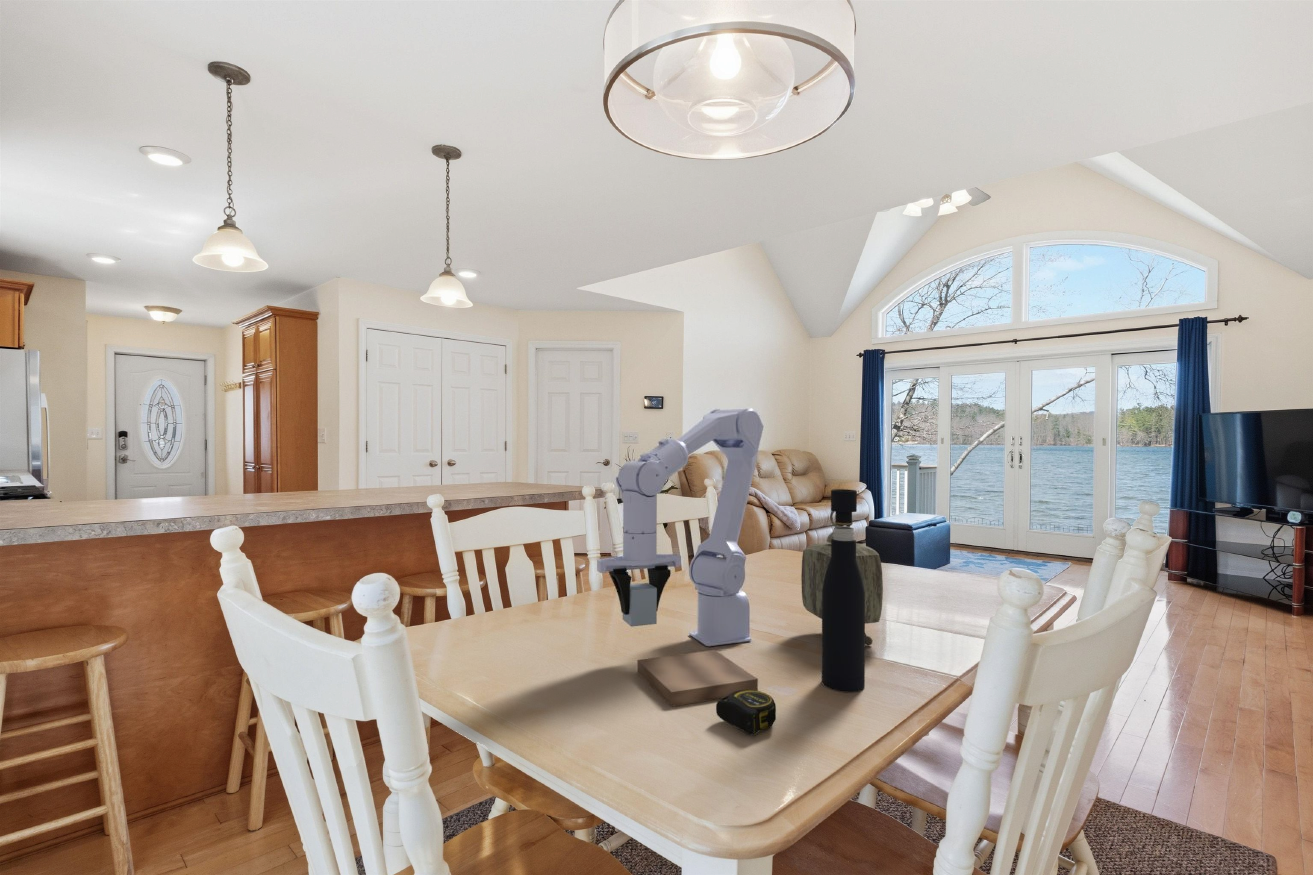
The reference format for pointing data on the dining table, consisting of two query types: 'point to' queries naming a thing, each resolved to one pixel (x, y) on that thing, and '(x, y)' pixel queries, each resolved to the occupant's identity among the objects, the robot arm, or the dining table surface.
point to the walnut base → (695, 677)
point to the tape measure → (747, 710)
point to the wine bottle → (843, 603)
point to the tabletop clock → (815, 570)
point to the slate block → (642, 605)
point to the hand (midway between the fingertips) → (639, 611)
